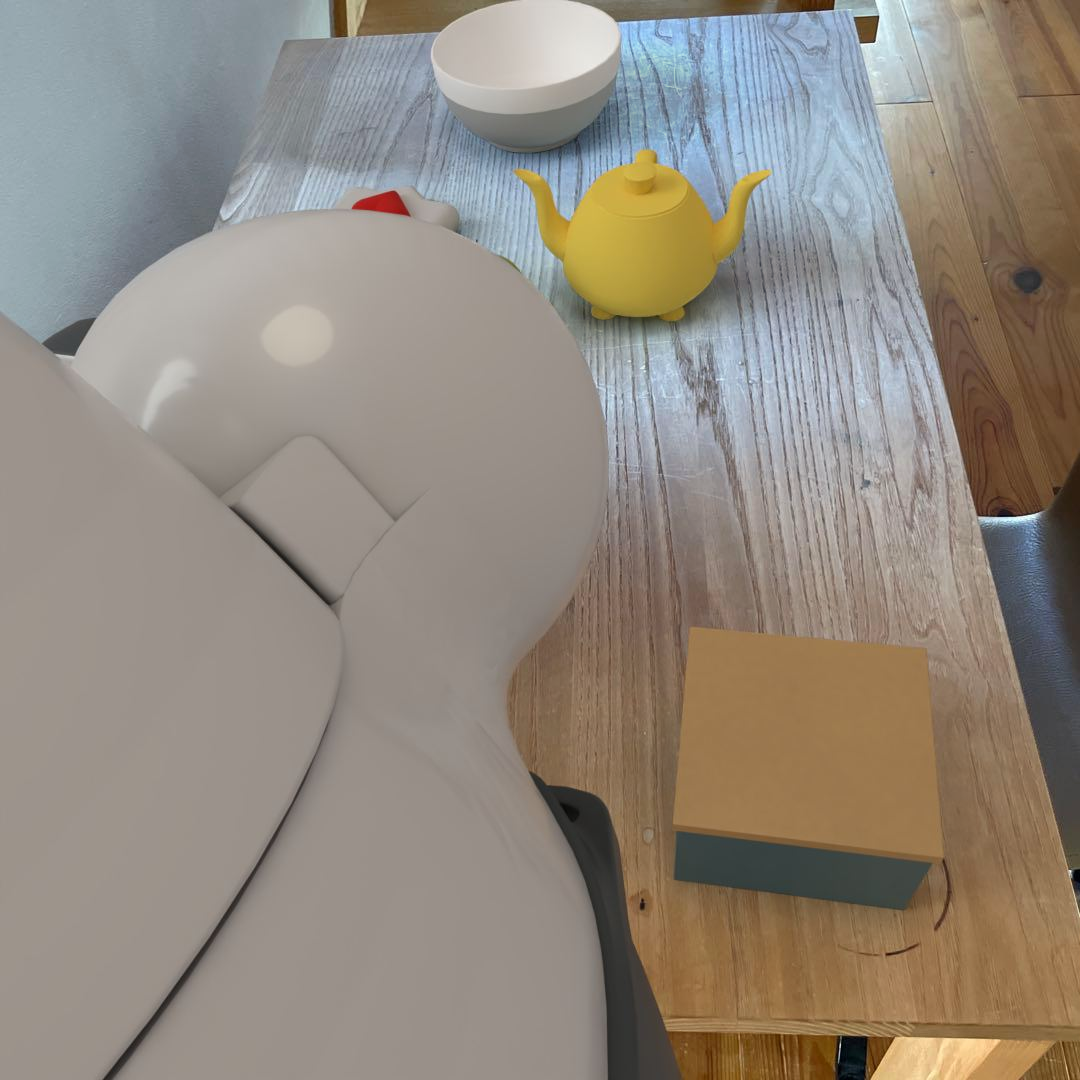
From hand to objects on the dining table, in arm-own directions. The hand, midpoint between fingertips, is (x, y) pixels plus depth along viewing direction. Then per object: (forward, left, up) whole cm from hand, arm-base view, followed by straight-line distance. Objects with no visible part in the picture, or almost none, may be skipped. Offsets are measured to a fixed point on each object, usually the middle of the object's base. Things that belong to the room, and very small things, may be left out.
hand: (218, 433), depth 72 cm
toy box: (-21, -41, -5) cm, 46 cm away
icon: (+31, -4, -5) cm, 32 cm away
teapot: (+25, -28, -5) cm, 38 cm away
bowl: (+51, -14, -5) cm, 53 cm away
